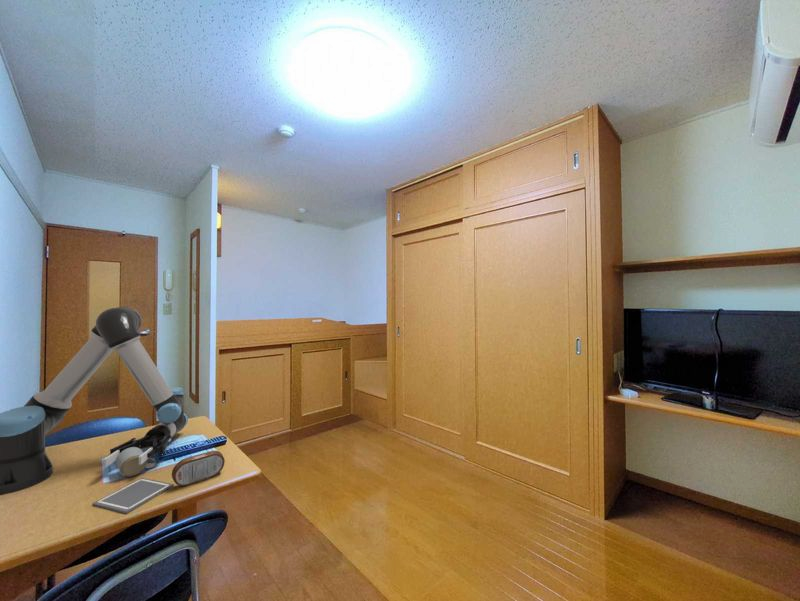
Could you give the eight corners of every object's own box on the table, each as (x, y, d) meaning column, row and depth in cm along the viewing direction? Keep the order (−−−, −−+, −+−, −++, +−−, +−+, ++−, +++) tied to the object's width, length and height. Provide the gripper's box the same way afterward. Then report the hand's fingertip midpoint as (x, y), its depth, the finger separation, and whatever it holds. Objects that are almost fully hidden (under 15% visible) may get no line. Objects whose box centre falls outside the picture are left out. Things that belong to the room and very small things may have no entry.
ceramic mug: (120, 481, 107) (120, 458, 107) (115, 472, 112) (115, 450, 112) (159, 469, 115) (159, 447, 115) (152, 461, 120) (153, 440, 120)
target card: (92, 505, 95) (92, 502, 95) (141, 479, 108) (141, 477, 108) (126, 514, 91) (126, 511, 91) (173, 486, 105) (173, 483, 105)
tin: (223, 470, 114) (222, 446, 114) (225, 473, 112) (225, 449, 112) (171, 487, 104) (171, 461, 104) (173, 491, 102) (172, 464, 102)
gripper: (190, 441, 132) (159, 470, 110) (129, 445, 128) (84, 476, 106) (190, 422, 132) (159, 448, 110) (129, 426, 128) (84, 453, 106)
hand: (122, 461), depth 108 cm, fingers closed on ceramic mug, 10 cm apart
